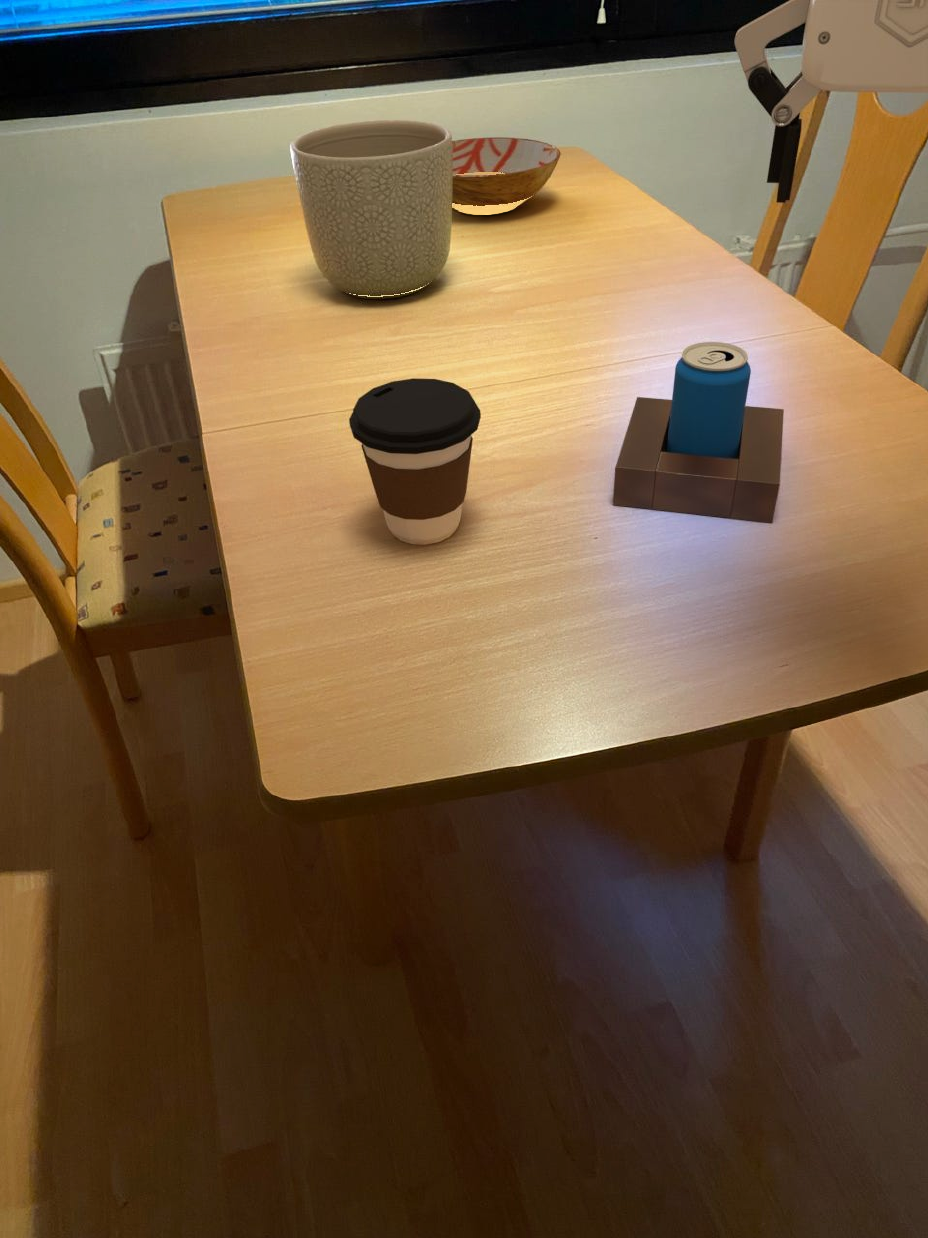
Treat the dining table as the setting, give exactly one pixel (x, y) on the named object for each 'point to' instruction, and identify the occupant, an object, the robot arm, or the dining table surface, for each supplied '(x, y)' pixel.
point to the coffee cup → (418, 454)
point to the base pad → (700, 467)
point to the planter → (377, 203)
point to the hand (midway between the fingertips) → (869, 198)
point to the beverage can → (709, 400)
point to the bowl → (500, 169)
